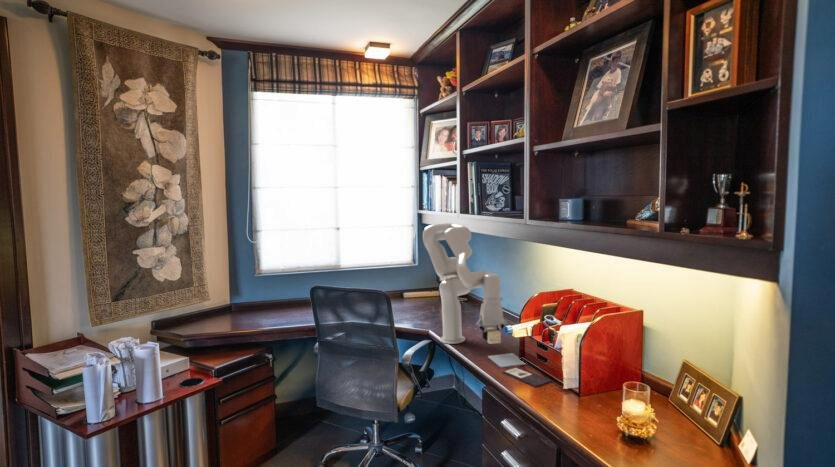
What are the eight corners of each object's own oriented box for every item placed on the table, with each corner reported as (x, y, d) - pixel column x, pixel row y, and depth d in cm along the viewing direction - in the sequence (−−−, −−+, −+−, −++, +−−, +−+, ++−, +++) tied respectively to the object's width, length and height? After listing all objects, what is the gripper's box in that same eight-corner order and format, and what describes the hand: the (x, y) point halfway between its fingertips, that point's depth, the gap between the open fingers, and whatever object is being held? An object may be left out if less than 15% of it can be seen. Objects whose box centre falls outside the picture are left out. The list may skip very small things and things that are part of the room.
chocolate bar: (535, 386, 167) (502, 372, 183) (535, 388, 167) (502, 374, 183) (552, 380, 172) (518, 367, 187) (552, 383, 172) (518, 369, 187)
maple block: (482, 338, 212) (482, 327, 212) (493, 337, 214) (493, 326, 213) (489, 343, 204) (489, 333, 204) (500, 342, 206) (500, 332, 205)
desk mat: (487, 356, 202) (487, 356, 202) (512, 353, 205) (512, 353, 205) (500, 367, 189) (500, 366, 189) (527, 364, 192) (527, 363, 192)
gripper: (505, 297, 213) (505, 335, 215) (471, 300, 209) (471, 338, 211) (512, 301, 206) (512, 340, 207) (477, 303, 202) (477, 343, 203)
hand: (491, 338), depth 209 cm, fingers closed on maple block, 5 cm apart
